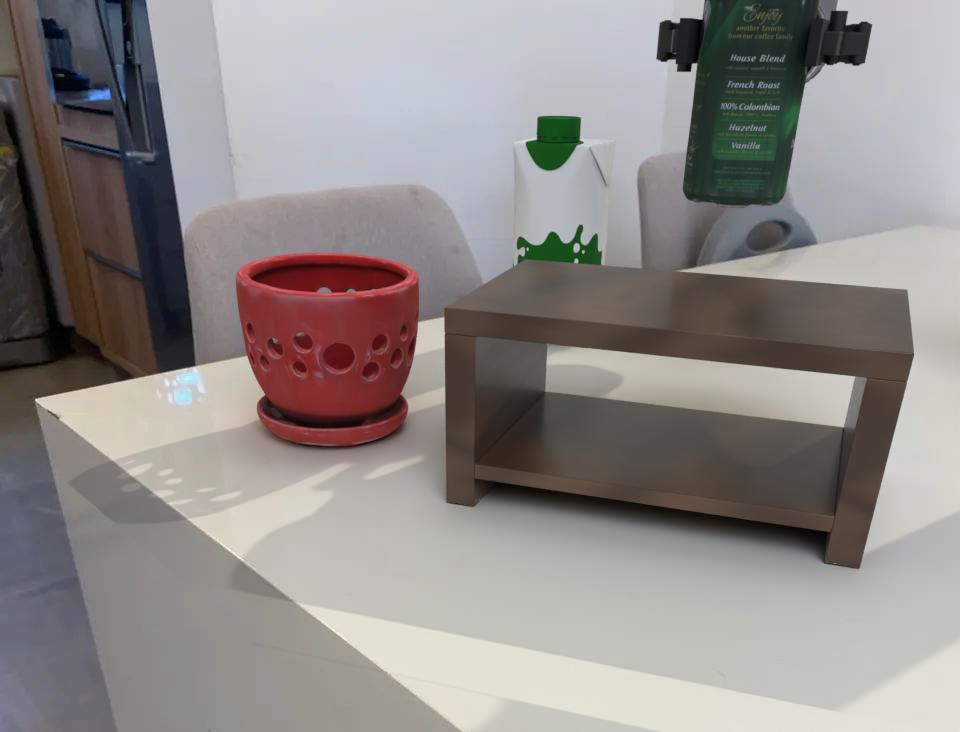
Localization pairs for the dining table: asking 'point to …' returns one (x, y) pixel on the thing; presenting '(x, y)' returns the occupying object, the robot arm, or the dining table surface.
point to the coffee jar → (747, 100)
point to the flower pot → (329, 344)
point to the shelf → (665, 429)
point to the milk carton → (561, 194)
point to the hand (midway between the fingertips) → (747, 42)
